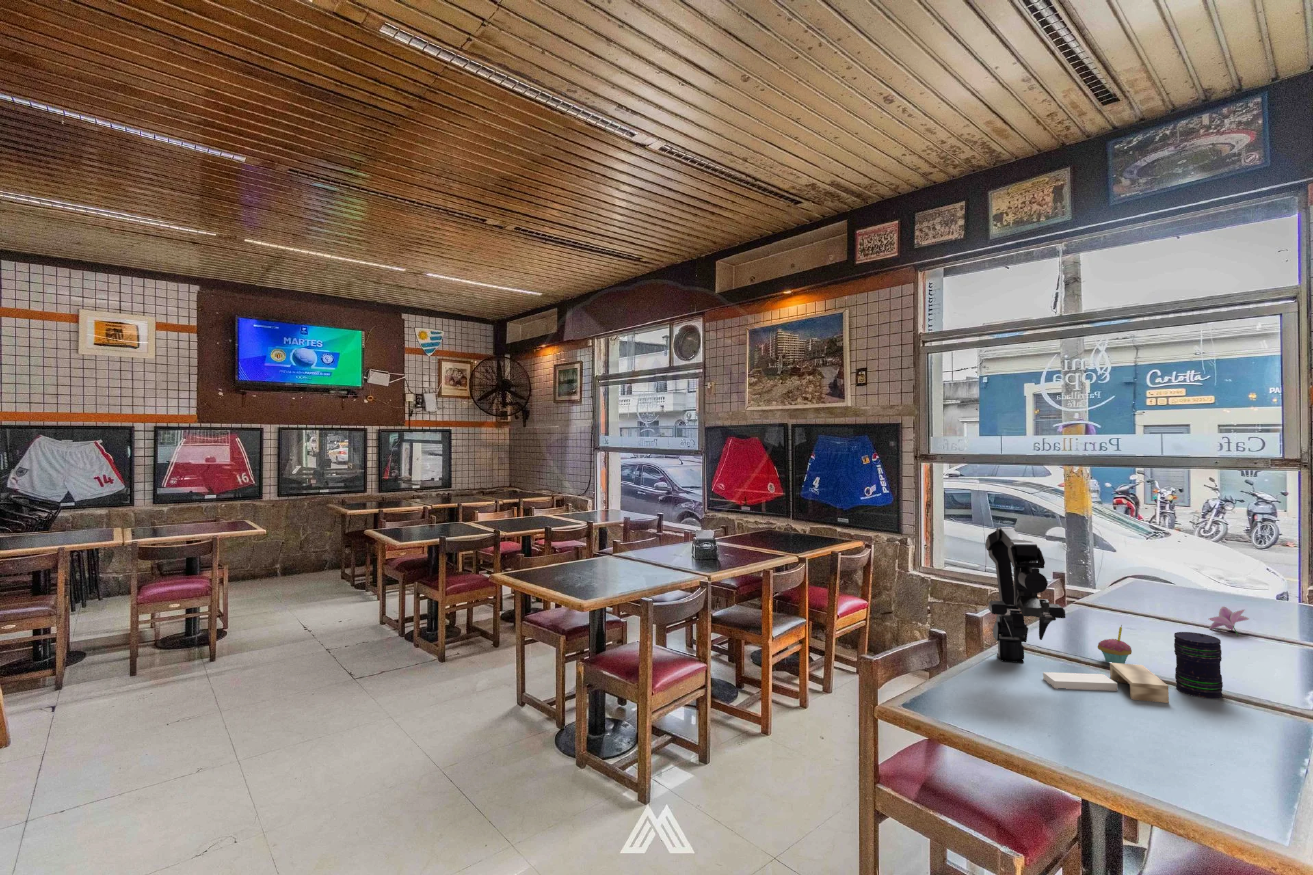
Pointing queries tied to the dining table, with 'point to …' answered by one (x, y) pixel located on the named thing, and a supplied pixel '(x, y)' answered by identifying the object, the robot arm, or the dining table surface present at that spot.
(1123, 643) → the cupcake
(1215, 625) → the lily
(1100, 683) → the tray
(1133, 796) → the dining table surface
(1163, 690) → the beige block
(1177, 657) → the black disc stack
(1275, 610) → the dining table surface
